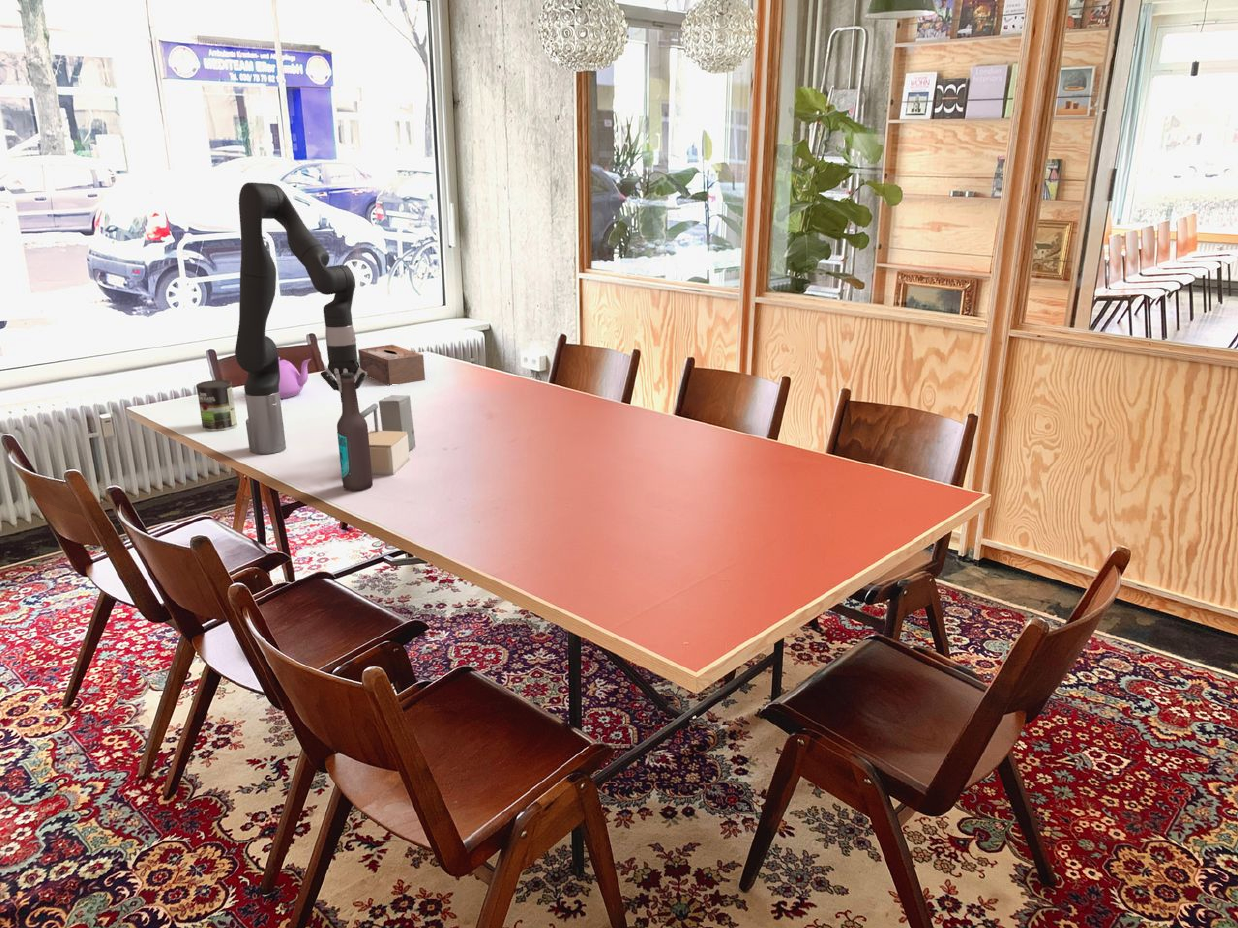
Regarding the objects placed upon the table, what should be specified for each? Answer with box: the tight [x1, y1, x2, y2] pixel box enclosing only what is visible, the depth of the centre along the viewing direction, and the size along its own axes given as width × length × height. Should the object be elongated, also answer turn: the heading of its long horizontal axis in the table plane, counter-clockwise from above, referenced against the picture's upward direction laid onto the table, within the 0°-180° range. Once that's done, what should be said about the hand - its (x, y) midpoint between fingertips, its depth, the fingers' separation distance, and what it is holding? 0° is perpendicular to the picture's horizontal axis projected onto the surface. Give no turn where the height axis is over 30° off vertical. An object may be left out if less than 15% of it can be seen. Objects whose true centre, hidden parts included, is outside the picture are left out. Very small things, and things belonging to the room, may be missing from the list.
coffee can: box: [195, 379, 238, 432], centre depth 292 cm, size 10×10×14 cm
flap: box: [360, 403, 407, 447], centre depth 253 cm, size 10×13×8 cm
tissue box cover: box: [357, 344, 426, 386], centre depth 358 cm, size 26×14×10 cm, turn 39°
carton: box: [369, 434, 411, 476], centre depth 255 cm, size 11×14×8 cm
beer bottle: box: [336, 373, 374, 492], centre depth 236 cm, size 8×8×30 cm
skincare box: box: [378, 394, 416, 452], centre depth 268 cm, size 8×7×16 cm
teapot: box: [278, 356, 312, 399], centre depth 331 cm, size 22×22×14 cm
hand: (347, 405), depth 252 cm, fingers closed
